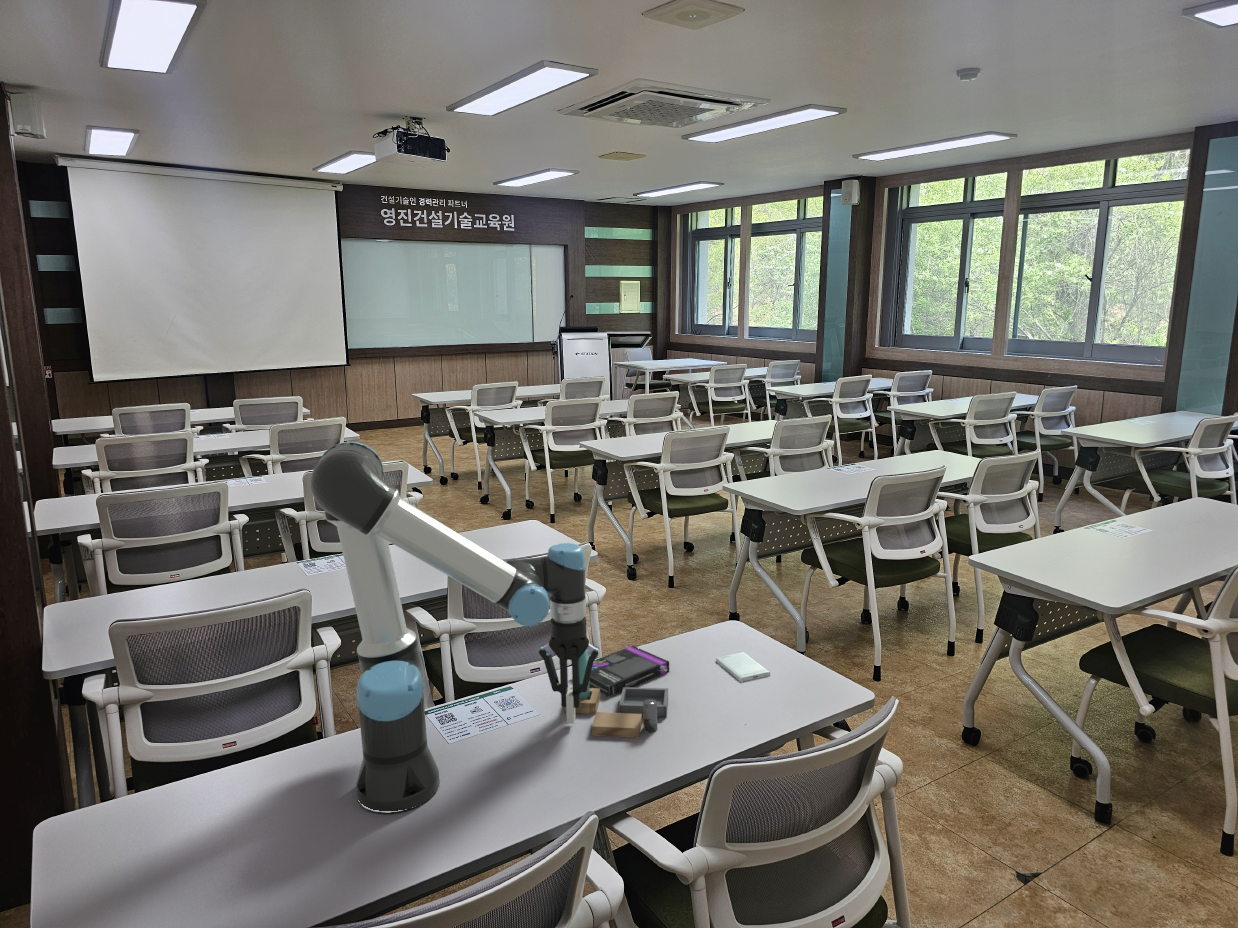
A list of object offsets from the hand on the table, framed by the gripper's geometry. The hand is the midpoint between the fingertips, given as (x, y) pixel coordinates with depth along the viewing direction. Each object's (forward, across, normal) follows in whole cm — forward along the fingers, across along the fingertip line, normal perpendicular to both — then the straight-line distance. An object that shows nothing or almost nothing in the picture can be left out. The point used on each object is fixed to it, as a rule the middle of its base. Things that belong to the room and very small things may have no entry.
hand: (571, 720), depth 169 cm
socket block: (+1, +1, +9) cm, 9 cm away
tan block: (+2, +10, -1) cm, 10 cm away
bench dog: (+1, +17, 0) cm, 17 cm away
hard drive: (+2, +39, +29) cm, 49 cm away
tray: (+1, +15, +9) cm, 18 cm away
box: (+2, +9, +25) cm, 27 cm away
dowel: (+1, +1, +9) cm, 9 cm away
